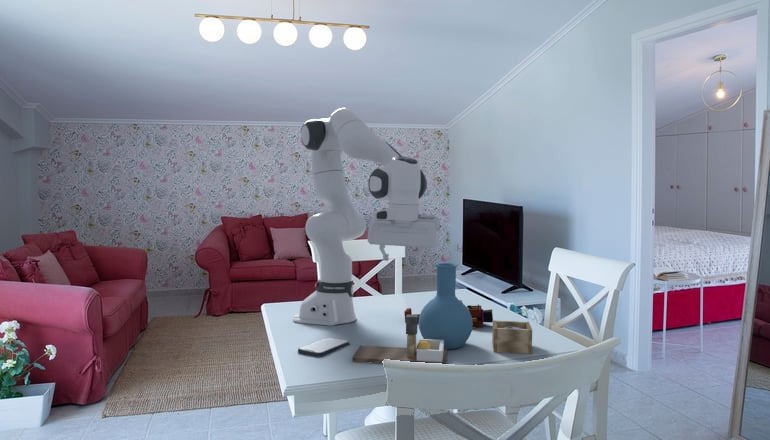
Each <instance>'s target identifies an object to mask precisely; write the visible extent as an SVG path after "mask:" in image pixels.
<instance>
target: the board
mask: <svg viewBox="0 0 770 440" xmlns="http://www.w3.org/2000/svg"><path fill="white" fill-rule="evenodd" d="M447 358H448V349H444V353H443V360H442V362H435V361H417V347H416V352H415V355H414V357H407V347H403V346H402V347H400V346H381V345H378V346H377V345H359V346H358V347H357V349H356V351H355V353H354V354H353V356H352V358H351V363H363V362H372V363H371V364H381V363H382V361H383V360H384V359H390V360H400V361H410V362H425V363H442V364H446V365H447Z"/></svg>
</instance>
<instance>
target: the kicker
mask: <svg viewBox="0 0 770 440" xmlns="http://www.w3.org/2000/svg"><path fill="white" fill-rule="evenodd" d="M418 325H419V323H418V315H413V314H412V315H411V314H407V316H406V323H405V335H406V348H407V357H414V355H415V352H416V348H417V335H418Z"/></svg>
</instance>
